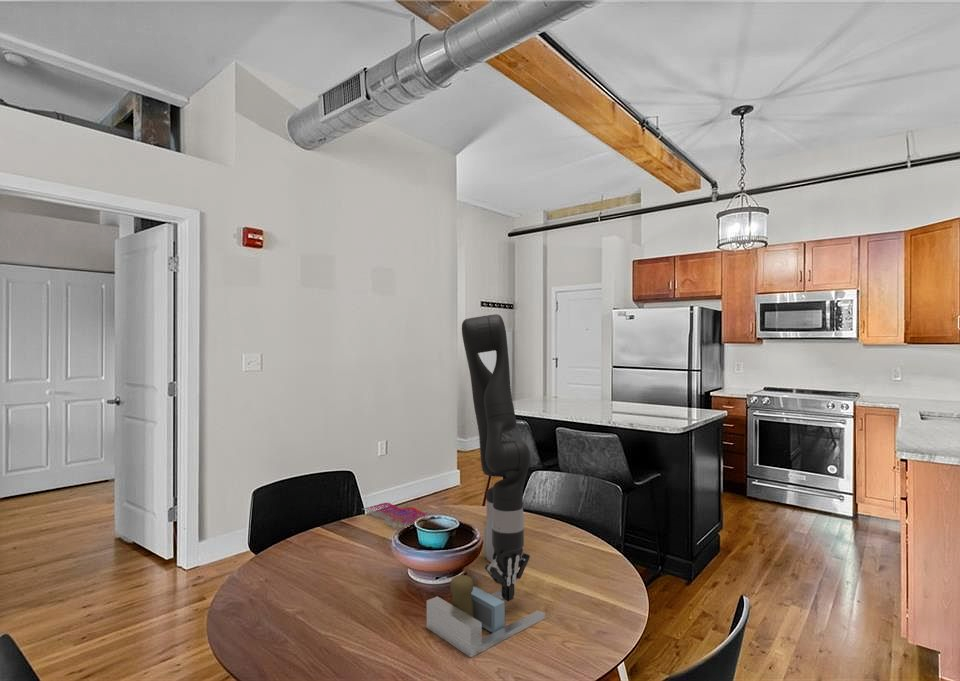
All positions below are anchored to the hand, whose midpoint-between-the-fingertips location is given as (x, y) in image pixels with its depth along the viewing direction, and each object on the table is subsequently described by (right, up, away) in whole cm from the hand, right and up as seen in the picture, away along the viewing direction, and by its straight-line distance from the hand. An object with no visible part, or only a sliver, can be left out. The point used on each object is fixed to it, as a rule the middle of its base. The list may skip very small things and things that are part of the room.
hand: (508, 599), depth 124 cm
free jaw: (-6, -3, -6) cm, 8 cm away
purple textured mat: (-36, -4, +64) cm, 73 cm away
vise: (-5, -3, -5) cm, 8 cm away
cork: (-11, -3, -7) cm, 13 cm away
